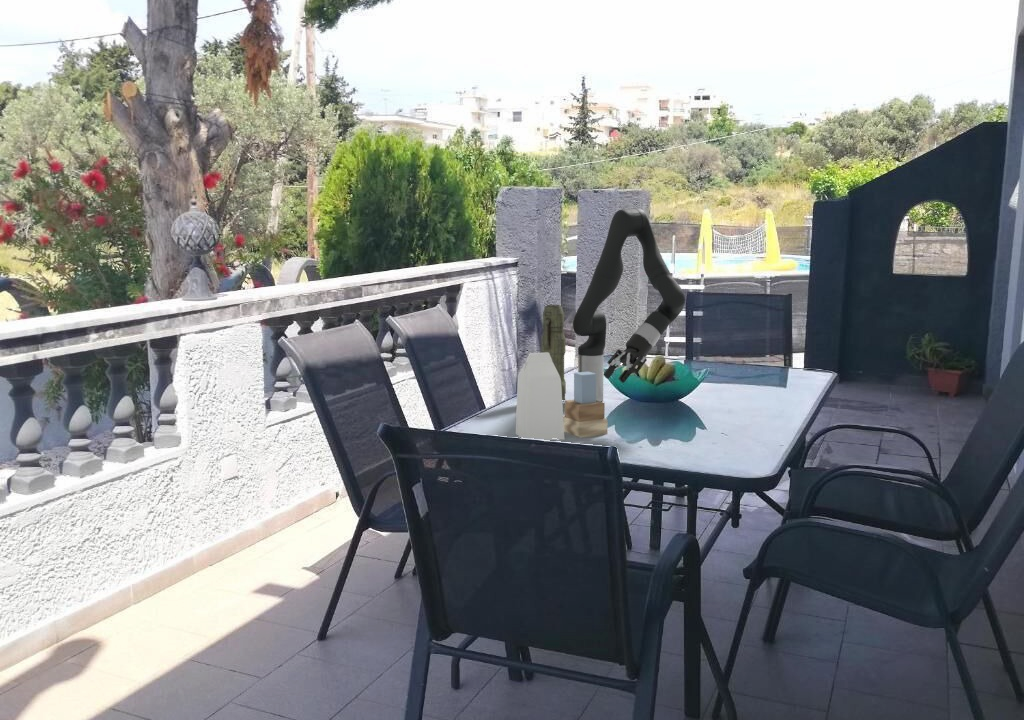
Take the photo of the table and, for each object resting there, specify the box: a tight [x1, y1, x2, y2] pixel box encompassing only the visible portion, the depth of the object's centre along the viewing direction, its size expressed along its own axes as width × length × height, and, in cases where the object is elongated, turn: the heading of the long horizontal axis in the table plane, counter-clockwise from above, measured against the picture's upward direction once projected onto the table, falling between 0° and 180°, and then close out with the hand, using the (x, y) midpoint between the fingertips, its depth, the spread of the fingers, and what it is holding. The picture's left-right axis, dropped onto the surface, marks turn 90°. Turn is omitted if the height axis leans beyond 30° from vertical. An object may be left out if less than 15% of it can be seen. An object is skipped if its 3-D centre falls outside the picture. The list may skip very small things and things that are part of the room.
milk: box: [515, 352, 565, 441], centre depth 275 cm, size 12×12×26 cm
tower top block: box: [564, 399, 606, 422], centre depth 281 cm, size 9×9×5 cm
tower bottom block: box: [563, 415, 609, 439], centre depth 281 cm, size 10×10×5 cm
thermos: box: [540, 304, 567, 401], centre depth 329 cm, size 9×12×35 cm
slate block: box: [573, 371, 596, 404], centre depth 280 cm, size 5×5×9 cm
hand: (613, 379), depth 284 cm, fingers open, 8 cm apart
